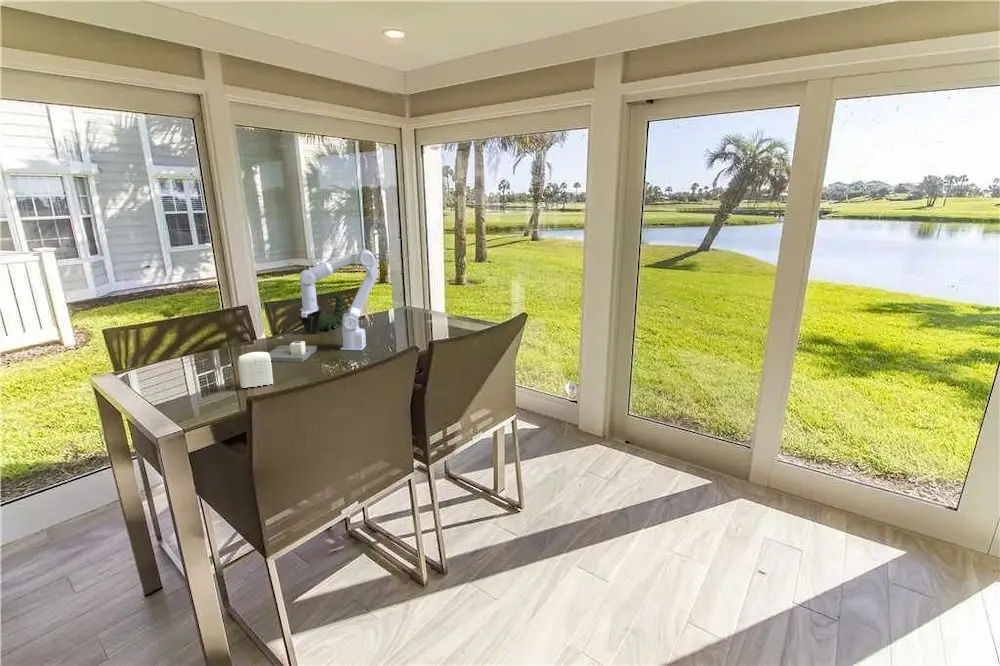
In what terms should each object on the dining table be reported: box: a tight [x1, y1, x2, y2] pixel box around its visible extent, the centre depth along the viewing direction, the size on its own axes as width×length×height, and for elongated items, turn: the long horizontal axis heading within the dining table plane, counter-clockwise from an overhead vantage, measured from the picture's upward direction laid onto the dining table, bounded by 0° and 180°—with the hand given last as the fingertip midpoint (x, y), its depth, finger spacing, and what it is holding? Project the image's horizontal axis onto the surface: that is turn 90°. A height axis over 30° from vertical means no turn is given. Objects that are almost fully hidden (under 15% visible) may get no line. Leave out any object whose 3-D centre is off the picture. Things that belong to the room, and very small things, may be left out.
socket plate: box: [268, 344, 318, 363], centre depth 194 cm, size 16×16×2 cm
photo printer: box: [237, 351, 274, 389], centre depth 161 cm, size 10×4×12 cm, turn 123°
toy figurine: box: [310, 292, 346, 333], centre depth 230 cm, size 9×19×25 cm
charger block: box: [289, 340, 306, 355], centre depth 193 cm, size 4×4×7 cm
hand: (312, 329), depth 199 cm, fingers open, 7 cm apart
